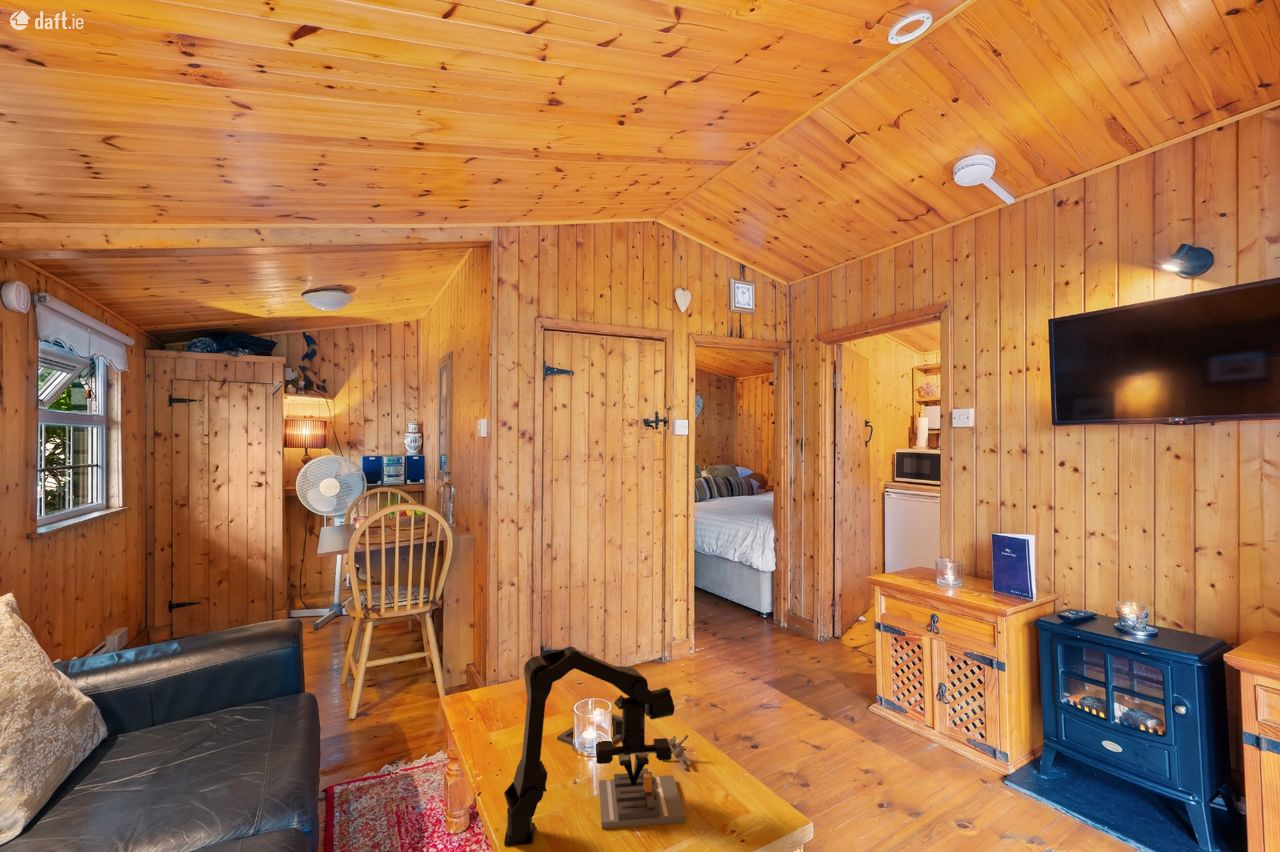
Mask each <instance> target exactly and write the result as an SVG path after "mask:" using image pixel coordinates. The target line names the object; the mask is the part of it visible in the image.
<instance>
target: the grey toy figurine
mask: <svg viewBox="0 0 1280 852" xmlns="http://www.w3.org/2000/svg"><path fill="white" fill-rule="evenodd" d="M688 738H689V735H688V734H687V735H685V736H684V738H683V739H682V740H680V741H679V742H677V737H676V735H674V736H672V737H671V738H670V739H668V740H669V743H670V746H671V752H672V754H673V756H674V758H675V759H677V760H678V762H679V763H680V765H681V767H682V768H683V770H684V771H686V770H688V766H691V764H692V761H691V760H690V759H689V758H688V756H687V755H686V753H685V749H684V747H682V744H683V743H684V742H685V741H686V740H688ZM676 742H677V743H676ZM662 762H665V760H662ZM685 762H686V763H687V765H688V766H687V765H686V764H685Z"/></svg>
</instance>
